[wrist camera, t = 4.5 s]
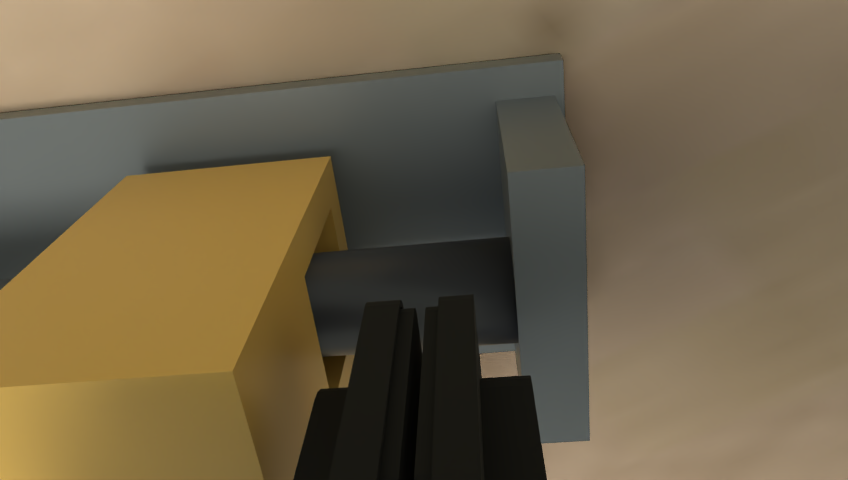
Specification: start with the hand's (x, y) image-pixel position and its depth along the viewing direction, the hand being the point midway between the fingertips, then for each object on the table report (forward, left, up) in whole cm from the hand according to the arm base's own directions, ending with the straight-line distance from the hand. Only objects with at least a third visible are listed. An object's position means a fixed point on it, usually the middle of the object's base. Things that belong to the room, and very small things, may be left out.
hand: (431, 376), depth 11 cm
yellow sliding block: (+4, 0, -5) cm, 6 cm away
